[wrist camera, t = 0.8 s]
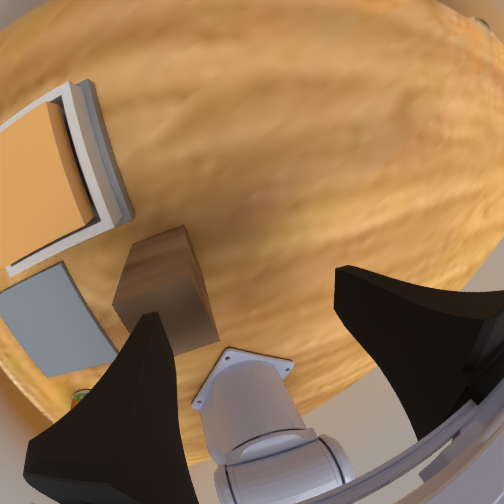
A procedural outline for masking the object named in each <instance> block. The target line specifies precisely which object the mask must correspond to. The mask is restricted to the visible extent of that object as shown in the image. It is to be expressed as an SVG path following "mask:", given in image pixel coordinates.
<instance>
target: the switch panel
mask: <svg viewBox="0 0 504 504" xmlns="http://www.w3.org/2000/svg"><path fill="white" fill-rule="evenodd" d="M45 101H48V102H51V103H55V104H58V105H60V107H61V111H62V115H63V119H64V123H65V127H66V131H67V134H68V138H69V141H70V145H71V148H72V152H73V155H74V158H75V161H76V164H77V167H78V170H79V173H80V176H81V179H82V182H83V185H84V187H85V190H86V193H87V196H88V198H89V201H90V203H91V206H92V208H93V211H94V213H95V216H94V217H93V218H92V219H91V220H90V221H89V222H88V223H87V224H86V225H85V226H83V227H81V228H79V229H76V230H74V231H72V232H70V233H68V234H66V235H64V236H62V237H60V238H58V239H56V240H54V241H52V242H50V243H48V244H46V245H45V246H43V247H41V248H39V249H37V250H35V251H33V252H31V253H30V254H28V255H26V256H24V257H22V258H21V259H19V260H17V261H15V262H14V263H12V264H10V265H9V266H7V267H5V268H6V270H7V272H8V274H9V276H10V278H11V277H12V276H14V275H16V274H18V273H20V272H22V271H24V270H26V269H27V268H29V267H31V266H33V265H35V264H37V263H39V262H41V261H43V260H45V259H47V258H49V257H51V256H53V255H55V254H57V253H59V252H61V251H63V250H65V249H68V248H70V247H72V246H74V245H76V244H78V243H80V242H83V241H85V240H87V239H89V238H91V237H94V236H96V235H98V234H100V233H103V232H105V231H107V230H110V229H112V228H114V227H117V226H119V225H121V224H124V223H126V222H129V221H131V220H132V219H133V218H134V216H135V212H134V210H133V207H132V205H131V202H130V199H129V197H128V194H127V191H126V188H125V186H124V183H123V180H122V177H121V174H120V171H119V168H118V166H117V163H116V160H115V156H114V153H113V150H112V147H111V144H110V141H109V137H108V134H107V131H106V127H105V124H104V120H103V117H102V113H101V109H100V105H99V102H98V98H97V94H96V89H95V85H94V83H93V82H92V81H90V80H89V79H86V80H84V81H82V82H80V83H78V84H76V85H75V84H73V83H72V82H70V81H68V82H66V83H64V84H62V85H60V86H59V87H57V88H55V89H53V90H52V91H50V92H48V93H47V94H45V95H44V96H42V97H40V98H39V99H37V100H36V101H34V102H33V103H31V104H30V105H28V106H27V107H25V108H24V109H22V110H21V111H20V112H18V113H17V114H15V115H14V116H13V117H11V118H10V119H9V120H7V121H6V122H5V123H4V124H2V125H1V126H0V133H1V132H2V131H3V130H5V129H6V128H7V127H8V126H10V125H11V124H12V123H14V122H15V121H17V120H18V119H19V118H21V117H22V116H24V115H25V114H26V113H28V112H29V111H31V110H32V109H34V108H35V107H37V106H39V105H40V104H42V103H43V102H45Z"/></svg>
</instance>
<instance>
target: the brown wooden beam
mask: <svg viewBox="0 0 504 504" xmlns="http://www.w3.org/2000/svg"><path fill="white" fill-rule="evenodd" d="M112 306H113V307H114V309H115V311H116V312H117V314H118V316H119V317H120V319H121V321H122V322H123V324H124V325H125V327H126V329H127V330H128V332H129V333H130V335H131V333H132V331H133V329H134V328H135V326H136V324H137V323H138V321H139V320H140V318H141V316H142V315H143V314H147V313H152V312H157V311H158V313H159V316H160V319H161V322H162V324H163V327H164V330H165V332H166V335H167V337H168V340H169V343H170V345H171V348H172V350H173V355H174V356H176V355H179V354H182V353H185V352H188V351H191V350H194V349H197V348H200V347H203V346H206V345H209V344H212V343H215V342H217V341H220V340H219V336H218V332H217V329H216V325H215V321H214V318H213V314H212V310H211V306H210V302H209V298H208V294H207V291H206V286H205V282H204V278H203V274H202V271H201V269H200V266H199V263H198V261H197V258H196V256H195V253H194V251H193V248H192V245H191V243H190V240H189V237H188V235H187V232H186V229H185V227H184V225H181V226H179V227H176V228H173V229H171V230H168V231H165V232H163V233H160V234H157V235H155V236H152V237H150V238H147V239H144V240H142V241H139V242H137V243H134V244H133V245H132V247H131V250H130V253H129V255H128V258H127V261H126V264H125V266H124V269H123V272H122V275H121V278H120V281H119V284H118V287H117V290H116V293H115V297H114V300H113V303H112Z"/></svg>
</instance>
